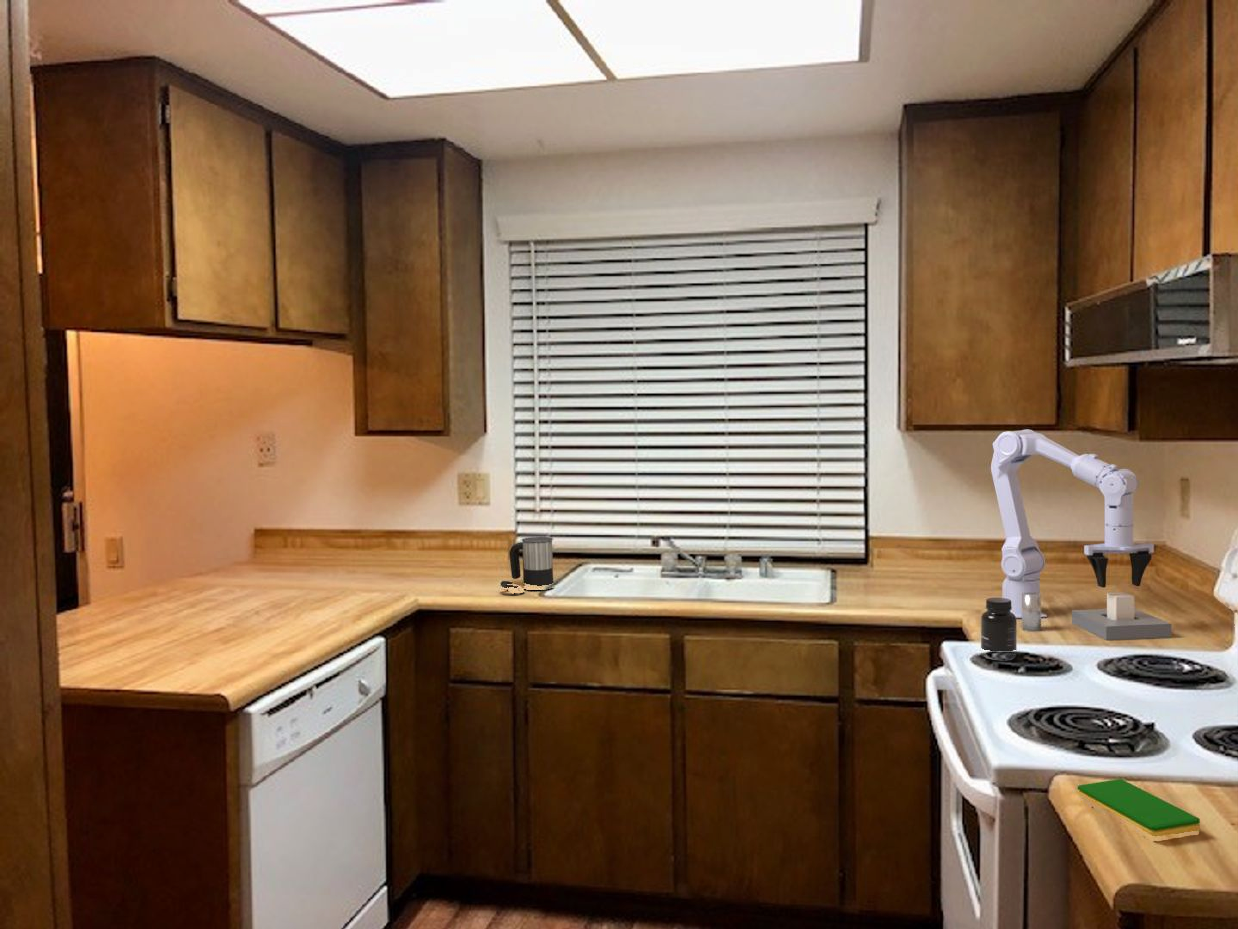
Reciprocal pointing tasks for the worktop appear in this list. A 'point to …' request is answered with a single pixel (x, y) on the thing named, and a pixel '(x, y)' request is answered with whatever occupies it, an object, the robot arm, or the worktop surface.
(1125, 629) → the socket plate
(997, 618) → the supplement bottle
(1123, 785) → the dish sponge
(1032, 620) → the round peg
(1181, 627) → the worktop surface
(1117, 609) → the square peg
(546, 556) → the milk frother
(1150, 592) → the worktop surface
